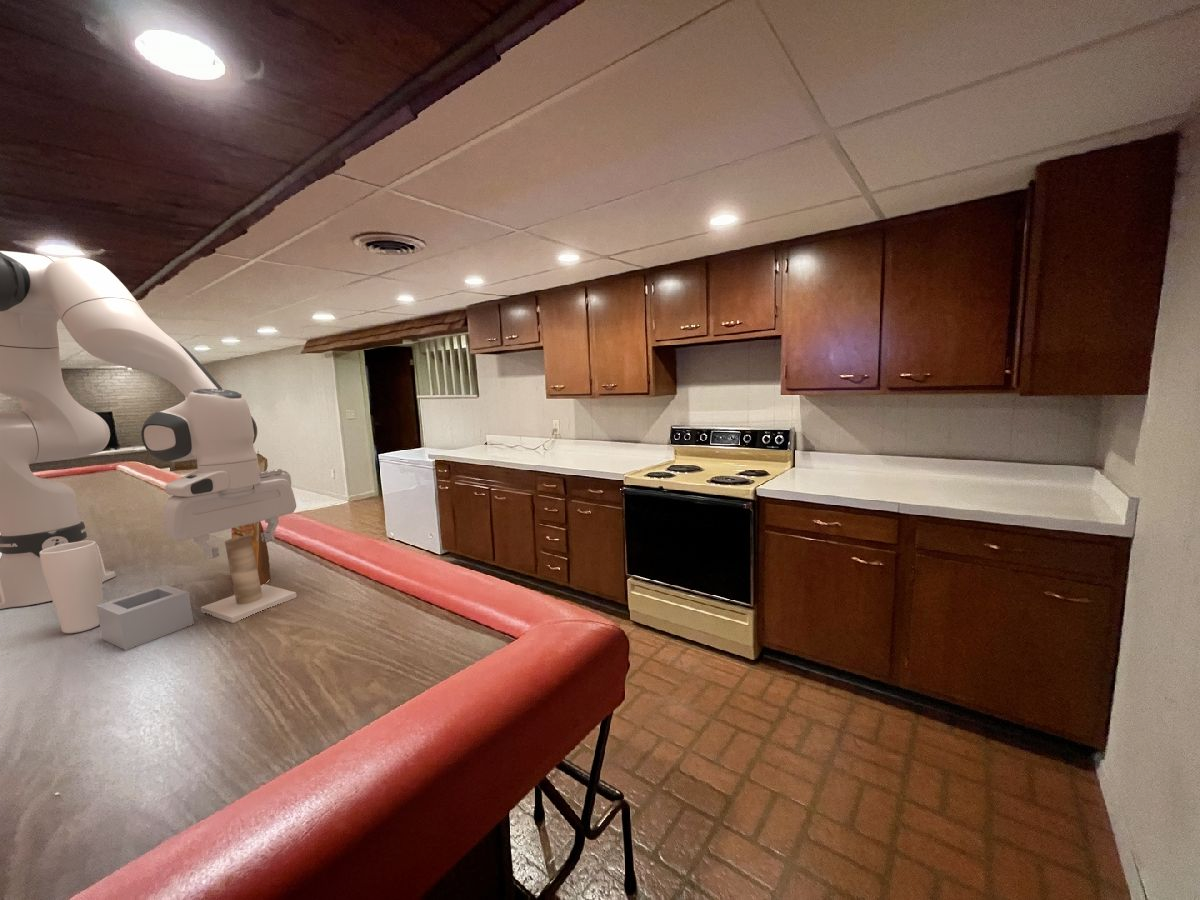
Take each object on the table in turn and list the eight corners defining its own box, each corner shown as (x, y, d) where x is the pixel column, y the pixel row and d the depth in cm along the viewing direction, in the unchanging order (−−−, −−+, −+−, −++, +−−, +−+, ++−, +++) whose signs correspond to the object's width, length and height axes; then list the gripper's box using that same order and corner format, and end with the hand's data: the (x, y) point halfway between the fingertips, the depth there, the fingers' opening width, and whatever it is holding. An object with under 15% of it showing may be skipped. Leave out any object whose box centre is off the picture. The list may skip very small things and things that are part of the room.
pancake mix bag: (262, 563, 113) (245, 448, 110) (286, 581, 101) (268, 452, 97) (227, 572, 108) (208, 452, 105) (248, 592, 96) (227, 457, 92)
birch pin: (232, 602, 89) (220, 541, 87) (255, 593, 93) (244, 534, 91) (243, 605, 87) (231, 543, 86) (266, 596, 91) (255, 536, 89)
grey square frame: (102, 639, 79) (95, 605, 78) (169, 615, 87) (164, 584, 86) (125, 650, 75) (118, 614, 74) (194, 624, 83) (188, 591, 82)
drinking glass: (74, 638, 80) (56, 553, 78) (45, 636, 81) (27, 552, 79) (121, 619, 87) (106, 540, 85) (93, 617, 88) (78, 539, 86)
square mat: (201, 612, 88) (200, 607, 88) (264, 588, 98) (264, 584, 97) (233, 623, 83) (232, 617, 83) (296, 597, 93) (296, 592, 92)
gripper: (279, 466, 98) (288, 531, 99) (152, 487, 79) (166, 565, 81) (298, 467, 95) (306, 534, 96) (170, 489, 77) (184, 570, 78)
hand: (241, 548), depth 89 cm, fingers open, 8 cm apart
